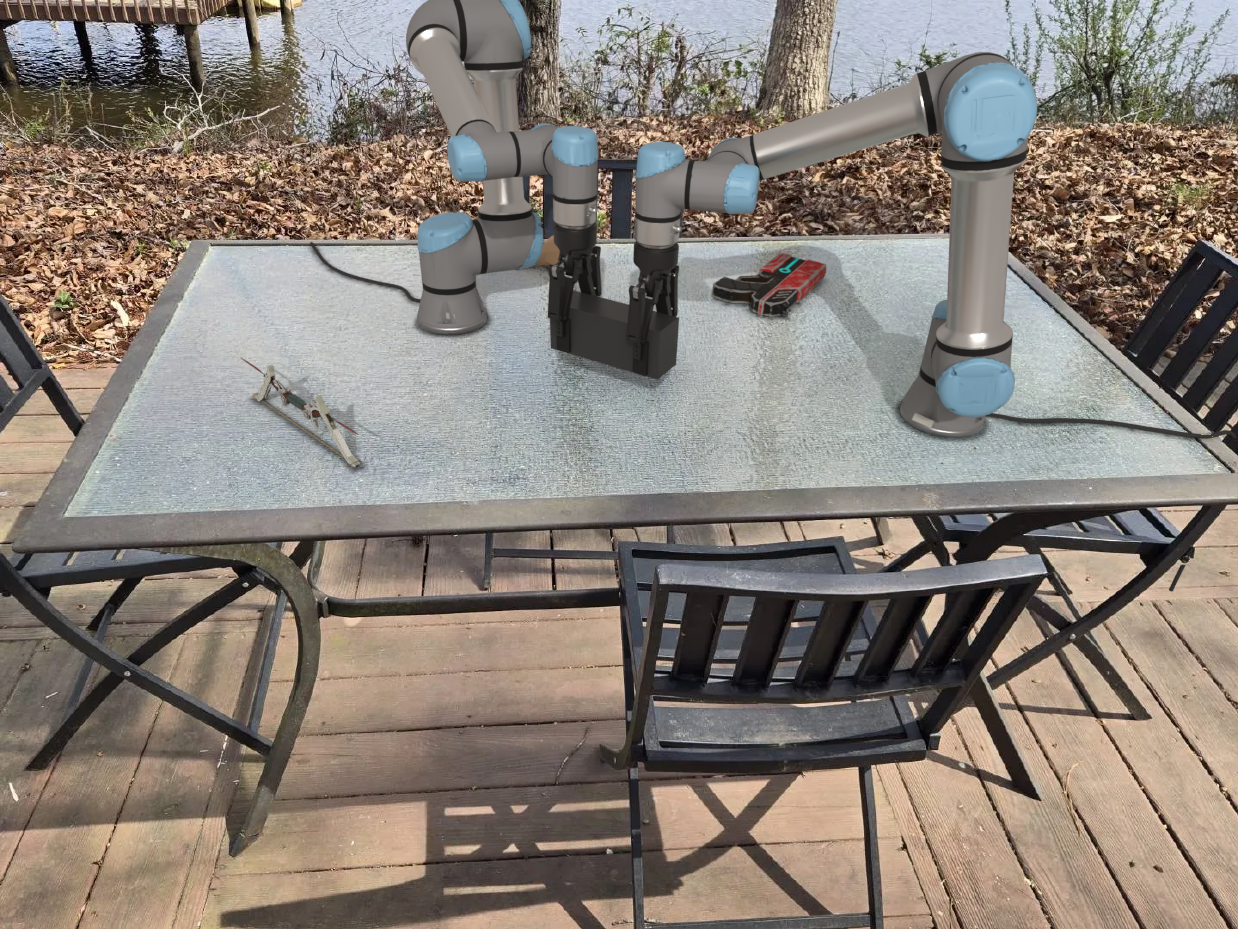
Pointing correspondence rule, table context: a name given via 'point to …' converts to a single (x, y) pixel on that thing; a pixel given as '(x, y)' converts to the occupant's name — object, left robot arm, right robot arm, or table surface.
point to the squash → (549, 253)
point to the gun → (772, 285)
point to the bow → (305, 411)
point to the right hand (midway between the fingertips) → (650, 365)
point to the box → (617, 335)
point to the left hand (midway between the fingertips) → (575, 342)
